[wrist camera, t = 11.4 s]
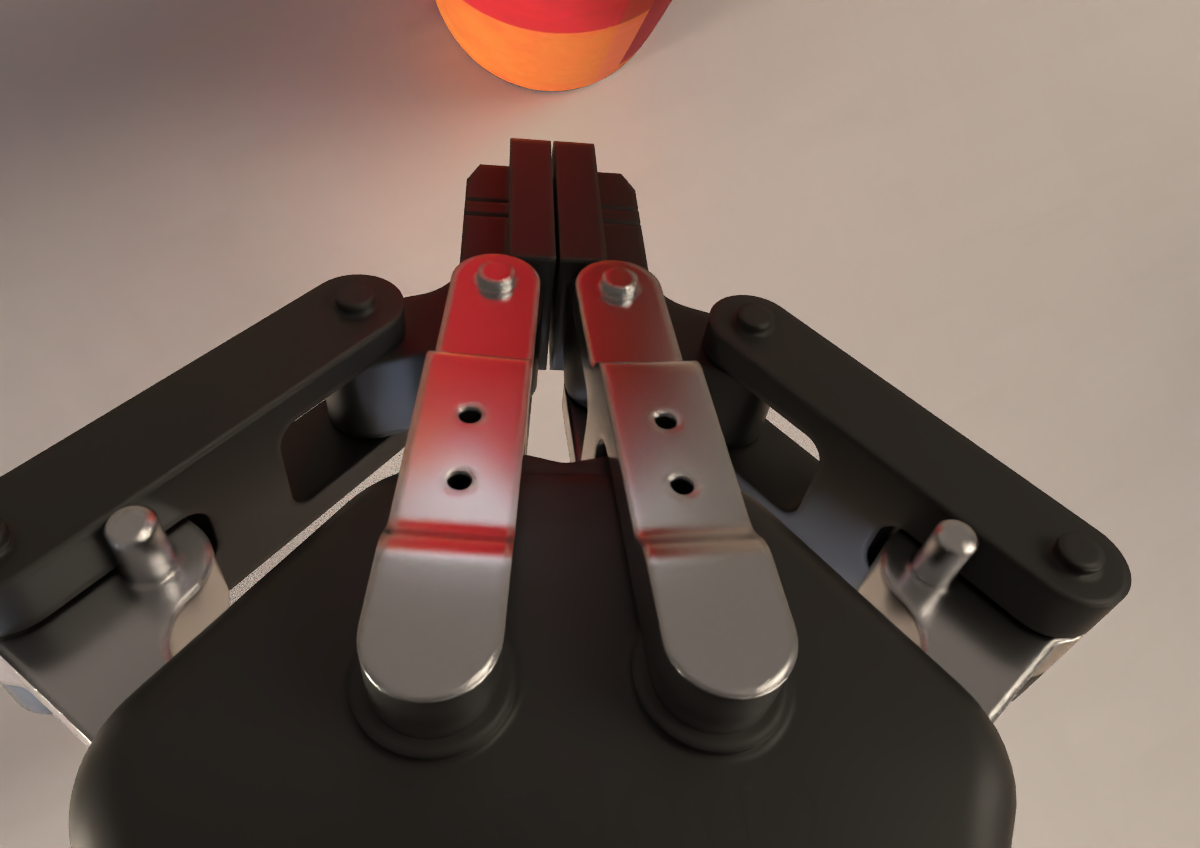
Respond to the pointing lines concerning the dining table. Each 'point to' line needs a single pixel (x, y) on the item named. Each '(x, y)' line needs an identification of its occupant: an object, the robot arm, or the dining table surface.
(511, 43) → the paper cup
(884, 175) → the dining table surface
